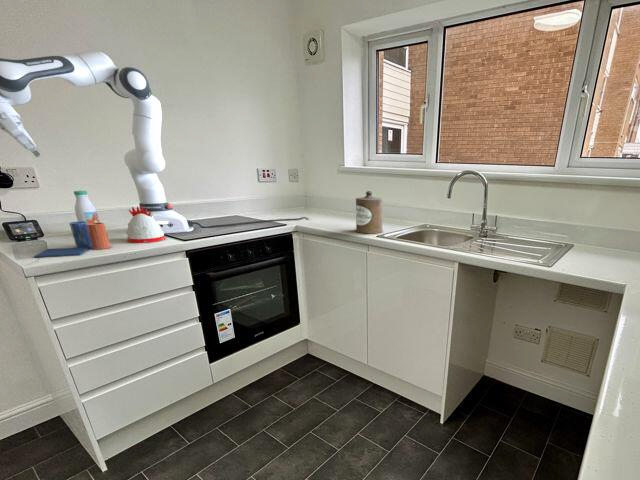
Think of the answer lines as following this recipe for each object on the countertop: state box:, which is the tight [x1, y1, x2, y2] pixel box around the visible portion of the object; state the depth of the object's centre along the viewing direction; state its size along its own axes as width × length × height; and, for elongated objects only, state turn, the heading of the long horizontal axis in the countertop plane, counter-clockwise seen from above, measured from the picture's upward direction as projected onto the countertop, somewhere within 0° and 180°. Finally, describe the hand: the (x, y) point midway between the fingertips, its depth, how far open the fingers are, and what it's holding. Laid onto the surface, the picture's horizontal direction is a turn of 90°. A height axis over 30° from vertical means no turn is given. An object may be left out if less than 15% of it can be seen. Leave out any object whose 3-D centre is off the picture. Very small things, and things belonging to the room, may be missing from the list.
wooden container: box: [355, 190, 383, 234], centre depth 195 cm, size 15×15×22 cm
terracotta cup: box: [86, 221, 111, 250], centre depth 142 cm, size 6×6×10 cm
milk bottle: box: [73, 190, 101, 223], centre depth 164 cm, size 8×8×20 cm
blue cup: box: [68, 220, 93, 248], centre depth 144 cm, size 6×6×10 cm
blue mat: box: [34, 247, 91, 259], centre depth 135 cm, size 13×12×1 cm
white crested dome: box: [126, 206, 166, 244], centre depth 158 cm, size 14×14×15 cm
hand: (35, 152), depth 134 cm, fingers open, 8 cm apart
